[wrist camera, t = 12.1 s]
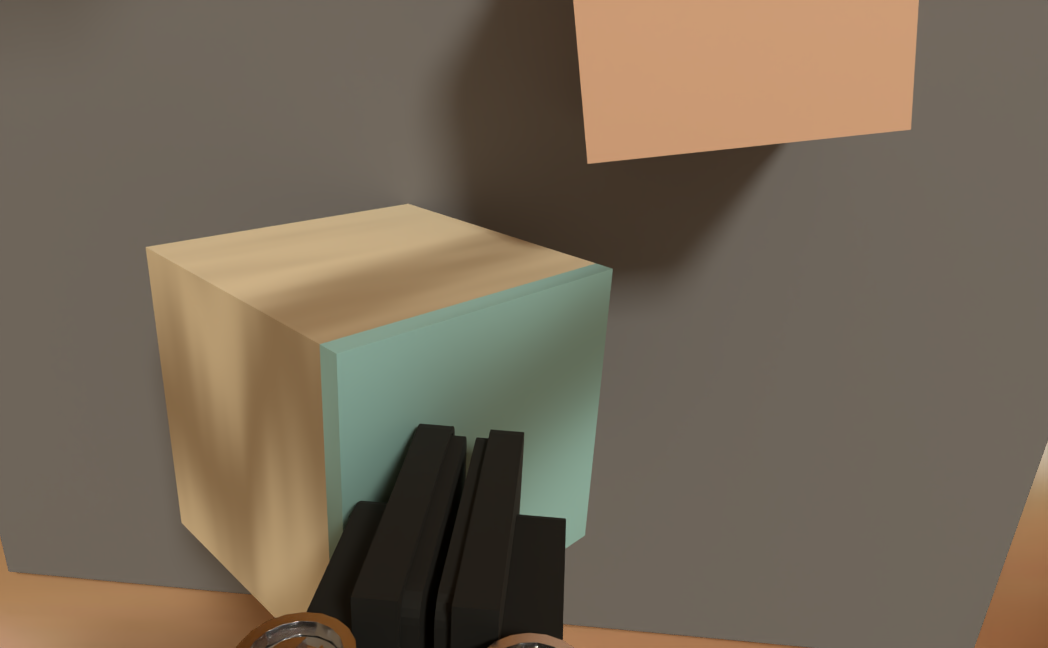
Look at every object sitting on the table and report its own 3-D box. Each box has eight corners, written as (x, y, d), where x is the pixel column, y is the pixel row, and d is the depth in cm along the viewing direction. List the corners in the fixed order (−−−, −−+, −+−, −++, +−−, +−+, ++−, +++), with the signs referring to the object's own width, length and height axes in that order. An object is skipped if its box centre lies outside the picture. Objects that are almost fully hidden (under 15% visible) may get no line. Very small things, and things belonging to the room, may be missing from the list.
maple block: (612, 268, 14) (408, 203, 18) (336, 353, 10) (145, 246, 14) (584, 535, 17) (408, 428, 20) (349, 692, 13) (181, 523, 16)
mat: (-131, -113, 17) (-155, -117, 16) (1195, -38, 16) (1218, -40, 15) (22, 558, 24) (8, 571, 23) (959, 646, 23) (968, 662, 22)
